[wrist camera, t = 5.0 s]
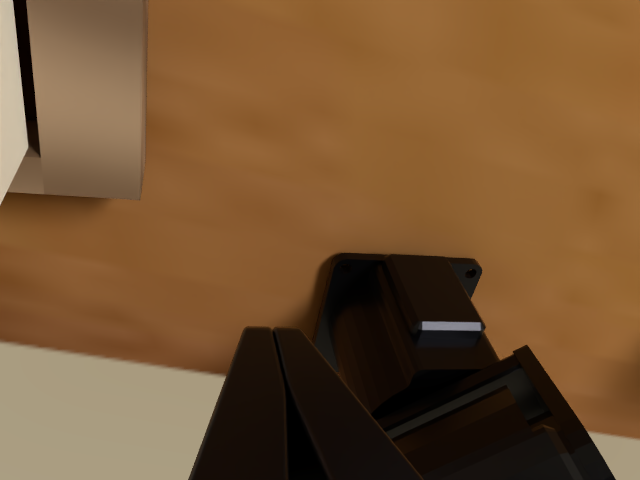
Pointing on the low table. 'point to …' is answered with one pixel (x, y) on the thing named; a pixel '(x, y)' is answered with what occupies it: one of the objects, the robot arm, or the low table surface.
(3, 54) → the cream cube
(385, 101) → the low table surface
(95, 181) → the walnut board
